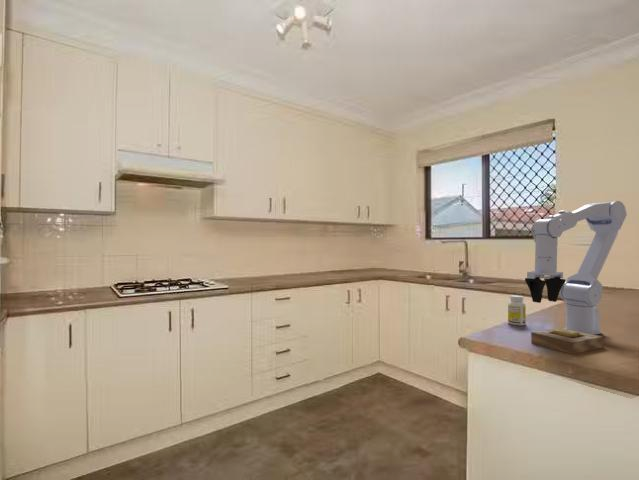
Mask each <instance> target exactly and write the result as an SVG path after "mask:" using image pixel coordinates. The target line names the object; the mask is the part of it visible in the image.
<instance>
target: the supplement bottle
mask: <svg viewBox="0 0 639 480" xmlns="http://www.w3.org/2000/svg"><path fill="white" fill-rule="evenodd" d="M509 299H510V301H509V302H508V303H507V323H508V324H509V323H510V325H514V326H525V325H526V321H527V320H526V317H527V315H526V303H525V302H524V296H523V295H516V294H514V295H513V294H511V295H510V296H509Z"/></svg>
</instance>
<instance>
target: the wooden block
mask: <svg viewBox="0 0 639 480" xmlns="http://www.w3.org/2000/svg"><path fill="white" fill-rule="evenodd" d="M553 334H555V335H559V336H563V337H567V338H578V337H580V332H576V331H571V330H567V329H557V330H553Z"/></svg>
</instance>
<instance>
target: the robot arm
mask: <svg viewBox="0 0 639 480" xmlns="http://www.w3.org/2000/svg"><path fill="white" fill-rule="evenodd" d="M627 216H628V215H627V209H626V205H624V203H623V202H622V201H620V200H616V201H609V202H595V203H590V202H589V203H588V204H584V205H583V206H581V207H579V208H577V209H575V210H573V211H568V210H566V209H565V210H562V209H561V210H559V211H558V212H557V214H554V215H547V218H545V219H543V218H542V219H537V220H536V221H534V222H533V225H532V227H531V228H530V231H531V234H532V235H533V241H534V243H535V245H534V246H535V248H534V250H535V252H534V253H535V254H534V255H535V256H534V270H531V271H527V272H526V277H525V278H524V282H525V283H526V285H527V287H528V289H529V292H530V296H531V300H532V302H533V303H538V304H540V303H541V302H542V300H543V299H542V298H543V292H544V288H545V286H546V290H547V291H546V292H547V293H546V294H547V300H548V301H549V302H554V303H555V302H557V301H558V298H559V297H560V298H561V299H562V300H563V303H564V304H565V328H566V329H570V330H575V331H579V332H584V333H589V334H593V335H599V334H603V333H604V331H601V330H600V327H601V326H600V325H601V323H600V317H601V315H600V310H599V309H598V307H597V305H598V304H599V303H600V301H601V299H602V291H603V289H604V286H603V285H602V283H601V282H600V281H599V280H598V278H599V276H600V274H601V272H602V269H603V267H604V265H605V264H606V263H605V262H606V260H607V259H608V256H609V254H610V252H611V251H612V250H611V249H612V248H613V245H614V243H615V240H617V236H618V233H619V231H620V230H621V228H622V226H623V224H624V222H625V220H626V218H627ZM583 220H585V221H586V223H587V225H588V226H589V228H590V230H591V231H593V232H594V233H595V234H594V237H593V238H592V241H591V242H590V244H589V247H588V249H587V251H586V253H585V255H584V258H583V260H582V262H581V265H580V266H579V268H578V270H577V273H575V274H574V273H573V274H572V275H570V276H568V277H567V278H566V279H565V278H564V272H563V271H557V270H558V269H557V268H558V266H557V265H558V238H560V237H561V236H562V234H563V233H564V232H566V231H568V230H571V229H572V228H575V227H576V226H577V224H578V222H581V221H583ZM542 279H543V280H542Z"/></svg>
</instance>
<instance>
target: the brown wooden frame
mask: <svg viewBox="0 0 639 480" xmlns="http://www.w3.org/2000/svg"><path fill="white" fill-rule="evenodd" d="M557 329H566V327H558V328H550V329H545V330H537V331H531V333H530V334H531V336H530V337H531V338H530V341H531V342H530V343H531V344H535V345H538V346H543V347H546V348H549V349H553V350H557V351H561V352H563V353H567V354H570V355H574V354H579V353H584V352H588V351H593V350H597V349H602V348H604V336H601V335H599V334H595V335H593V334H589V333H584V332H580V337H578V338H567V337H563V336H559V335H555V334H553V330H557ZM567 330H570V329H567ZM571 331H575V330H571ZM576 332H579V331H576Z"/></svg>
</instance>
